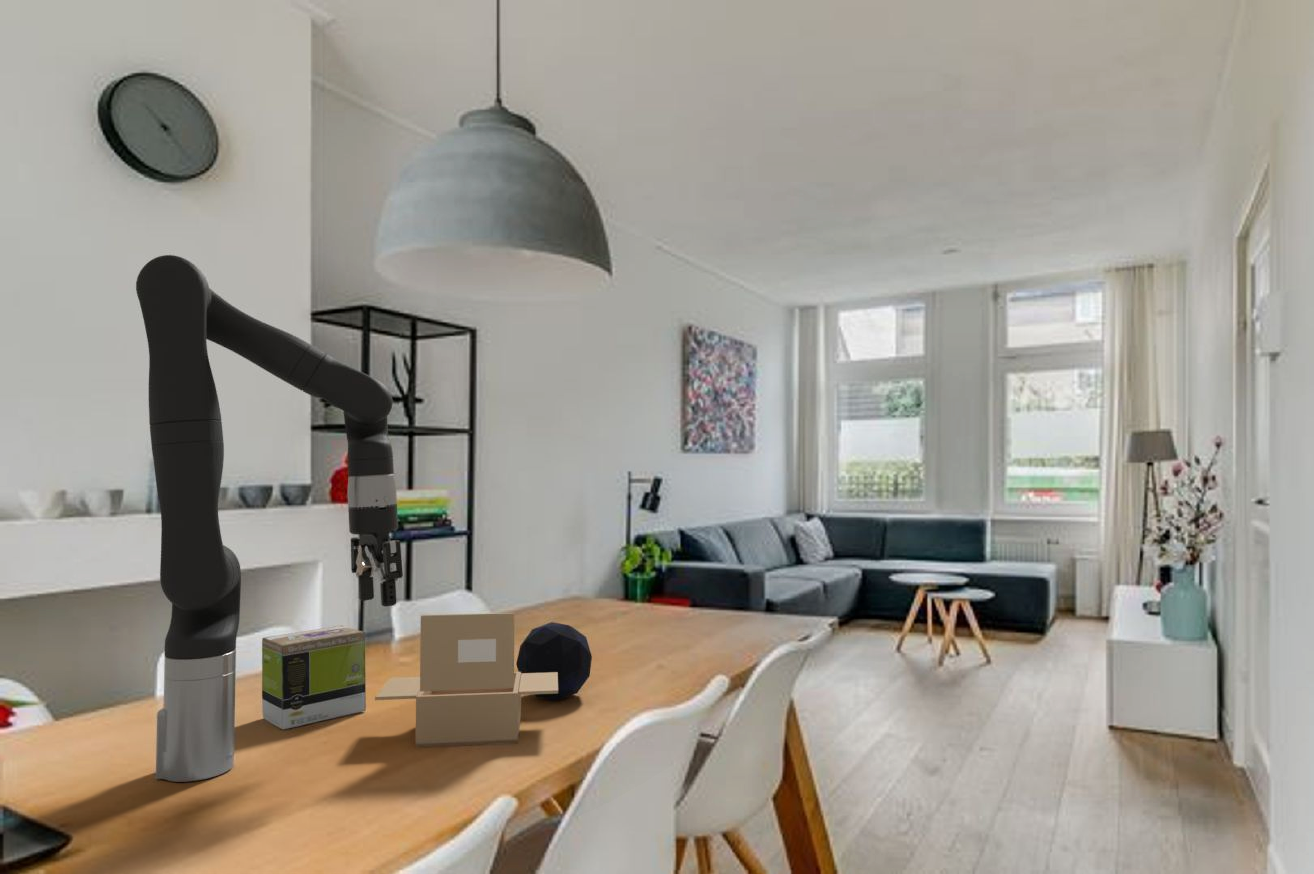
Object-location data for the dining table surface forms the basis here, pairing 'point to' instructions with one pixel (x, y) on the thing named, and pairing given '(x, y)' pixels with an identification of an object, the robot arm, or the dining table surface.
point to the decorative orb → (557, 657)
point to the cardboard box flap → (467, 651)
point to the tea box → (313, 676)
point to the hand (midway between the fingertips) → (377, 602)
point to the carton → (468, 710)
